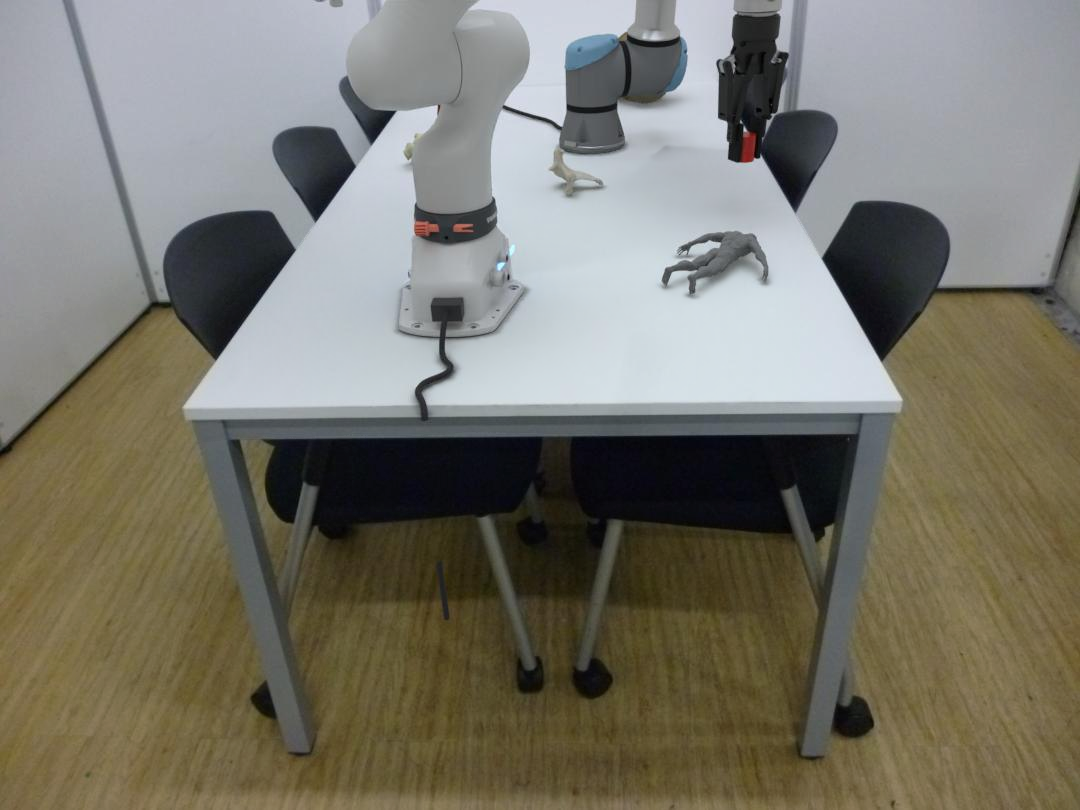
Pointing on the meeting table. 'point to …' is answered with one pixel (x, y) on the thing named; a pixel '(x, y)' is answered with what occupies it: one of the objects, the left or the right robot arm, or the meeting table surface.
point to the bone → (569, 172)
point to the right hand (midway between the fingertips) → (743, 158)
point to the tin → (748, 147)
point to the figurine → (717, 256)
